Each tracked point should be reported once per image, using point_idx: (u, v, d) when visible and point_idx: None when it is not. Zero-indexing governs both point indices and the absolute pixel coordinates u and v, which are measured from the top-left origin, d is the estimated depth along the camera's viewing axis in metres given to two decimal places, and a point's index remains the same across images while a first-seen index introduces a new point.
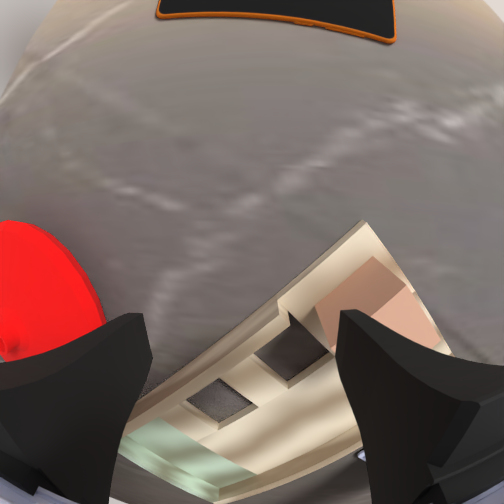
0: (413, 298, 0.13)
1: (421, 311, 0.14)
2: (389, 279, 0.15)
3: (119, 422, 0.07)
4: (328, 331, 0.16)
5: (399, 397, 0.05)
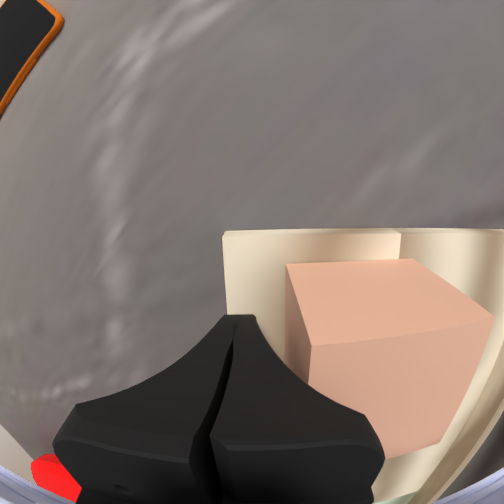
0: (357, 345, 0.05)
1: (403, 339, 0.05)
2: (299, 325, 0.07)
3: None
4: None
5: None
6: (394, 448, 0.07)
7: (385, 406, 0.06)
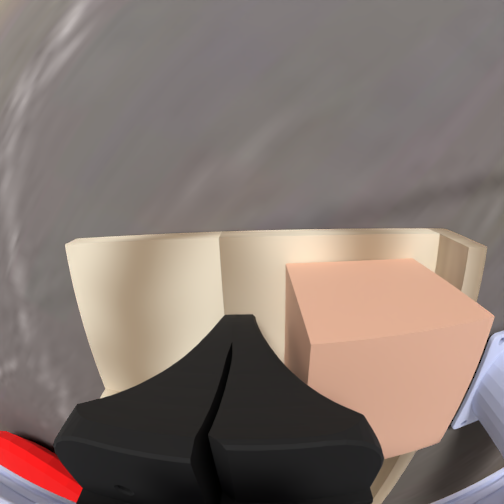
0: (356, 344, 0.05)
1: (403, 338, 0.06)
2: (299, 324, 0.07)
3: None
4: None
5: None
6: (394, 447, 0.07)
7: (385, 405, 0.06)
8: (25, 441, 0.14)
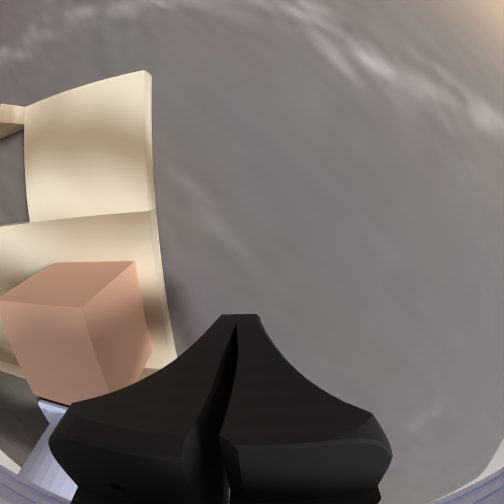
0: (86, 333, 0.09)
1: (94, 359, 0.09)
2: (92, 289, 0.10)
3: None
4: (17, 287, 0.10)
5: None
6: (26, 363, 0.09)
7: (53, 352, 0.09)
8: None
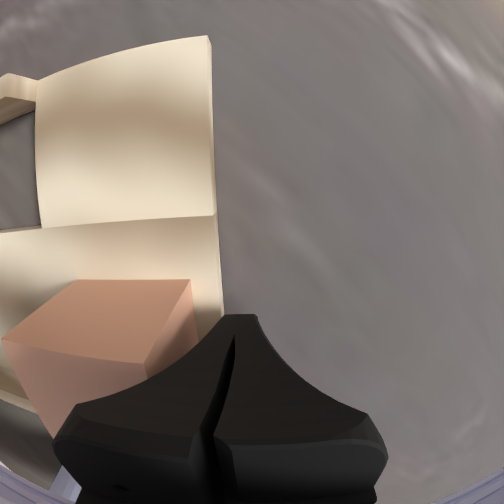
0: None
1: None
2: (148, 328, 0.07)
3: None
4: (30, 318, 0.07)
5: None
6: (49, 417, 0.07)
7: None
8: None
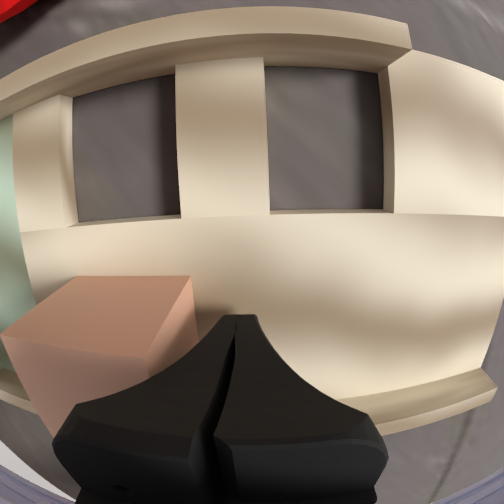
0: None
1: None
2: (148, 323, 0.07)
3: None
4: (30, 314, 0.07)
5: None
6: (48, 414, 0.07)
7: None
8: None
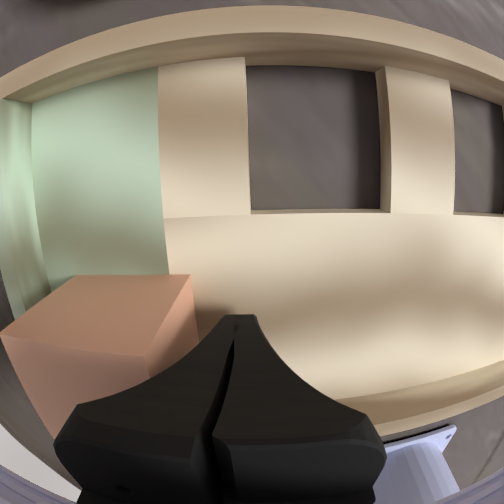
0: None
1: None
2: (148, 321, 0.07)
3: None
4: (29, 313, 0.07)
5: None
6: (47, 413, 0.07)
7: None
8: None
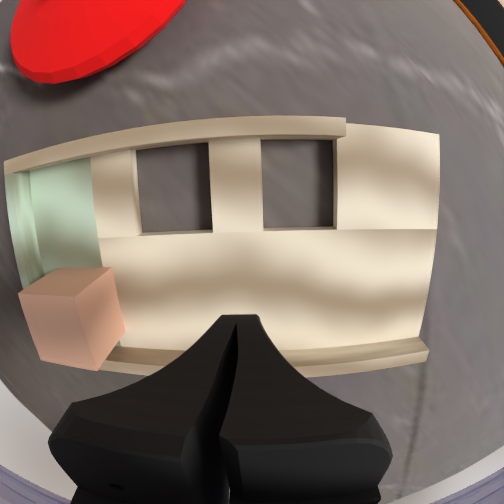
0: (77, 312, 0.14)
1: (82, 329, 0.14)
2: (81, 286, 0.15)
3: None
4: (32, 285, 0.15)
5: None
6: (37, 336, 0.15)
7: (56, 327, 0.14)
8: None
